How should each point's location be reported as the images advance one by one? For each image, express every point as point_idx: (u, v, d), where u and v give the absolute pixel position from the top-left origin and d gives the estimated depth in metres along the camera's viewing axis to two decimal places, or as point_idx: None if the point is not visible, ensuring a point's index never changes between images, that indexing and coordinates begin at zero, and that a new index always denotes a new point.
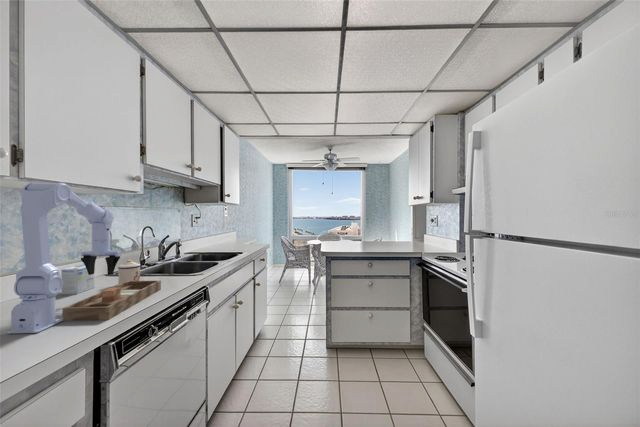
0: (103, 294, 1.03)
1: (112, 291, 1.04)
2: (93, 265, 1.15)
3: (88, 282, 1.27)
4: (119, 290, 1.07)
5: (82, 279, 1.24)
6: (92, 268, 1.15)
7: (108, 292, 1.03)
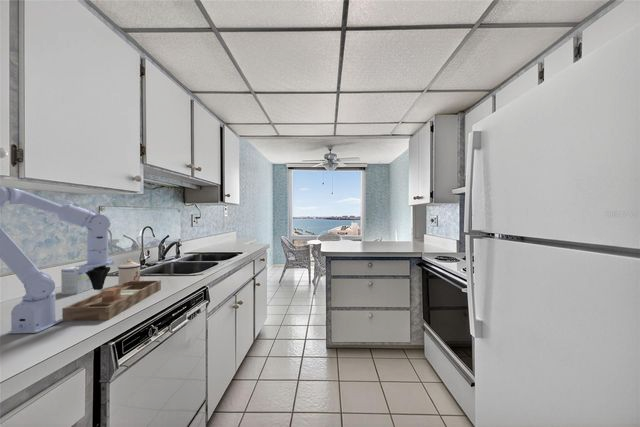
0: (103, 294, 1.03)
1: (112, 291, 1.04)
2: None
3: (88, 282, 1.27)
4: (119, 290, 1.07)
5: (82, 279, 1.24)
6: None
7: (108, 292, 1.03)
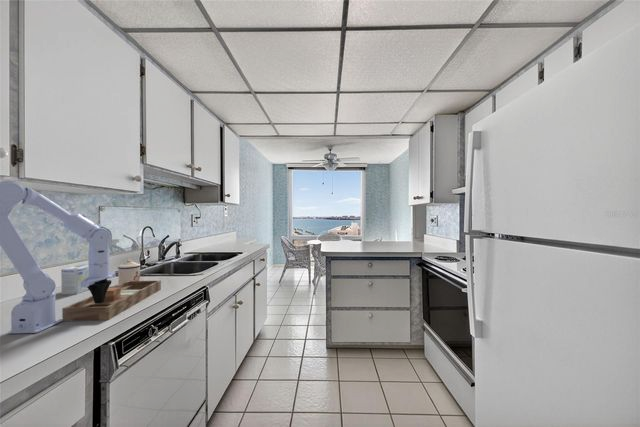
0: None
1: (112, 291, 1.04)
2: None
3: None
4: (119, 290, 1.07)
5: (82, 279, 1.24)
6: None
7: (108, 292, 1.03)
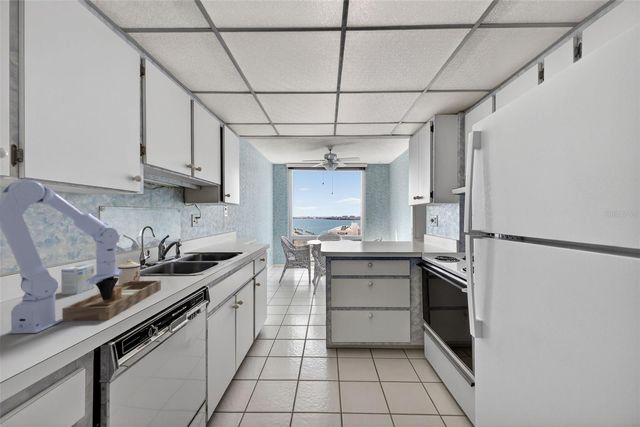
0: None
1: (113, 290, 1.04)
2: None
3: (88, 282, 1.27)
4: (120, 289, 1.08)
5: (82, 279, 1.24)
6: None
7: None
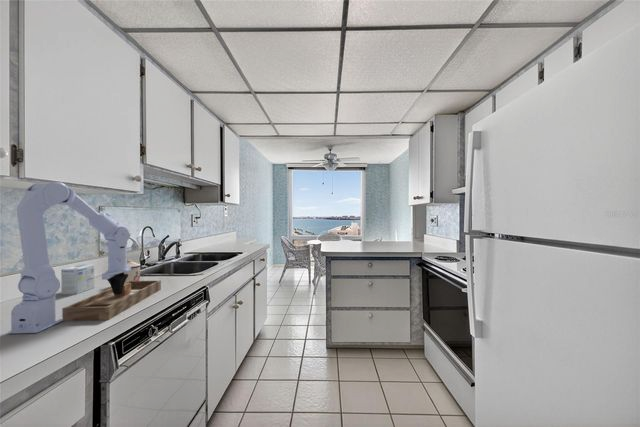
0: None
1: (123, 286, 1.11)
2: None
3: (88, 282, 1.27)
4: (130, 285, 1.14)
5: (82, 279, 1.24)
6: None
7: None
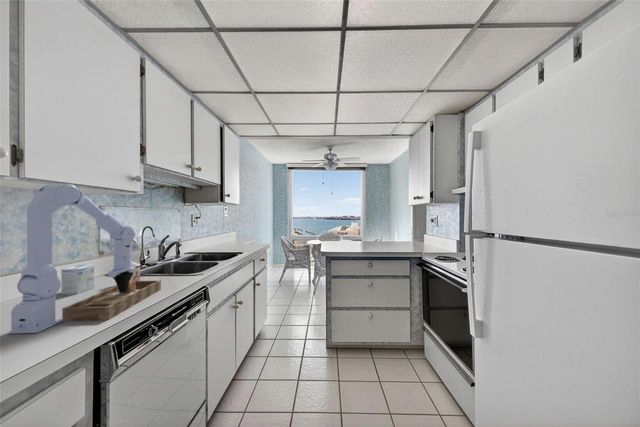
0: None
1: (128, 284, 1.14)
2: None
3: (88, 282, 1.27)
4: (134, 283, 1.17)
5: (82, 279, 1.24)
6: None
7: None
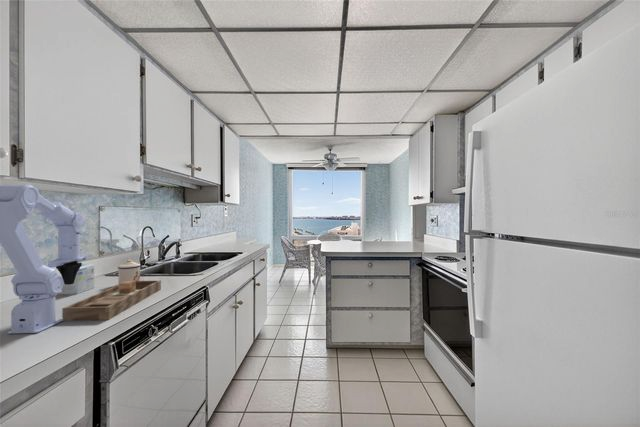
0: (120, 286, 1.14)
1: (128, 284, 1.14)
2: None
3: (88, 282, 1.27)
4: (134, 283, 1.17)
5: (82, 279, 1.24)
6: None
7: (125, 285, 1.14)
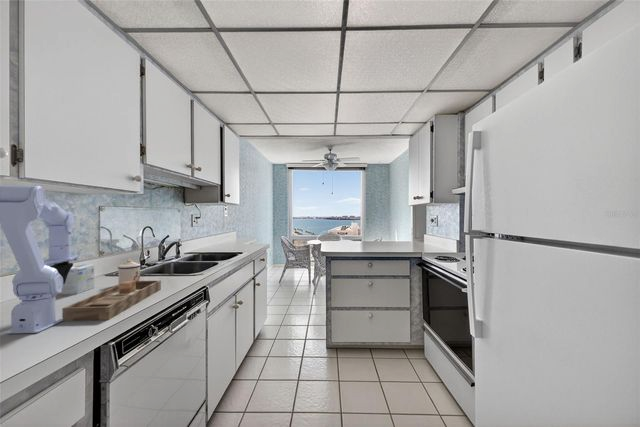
0: (120, 286, 1.14)
1: (128, 284, 1.14)
2: None
3: (88, 282, 1.27)
4: (134, 283, 1.17)
5: (82, 279, 1.24)
6: None
7: (125, 285, 1.14)
